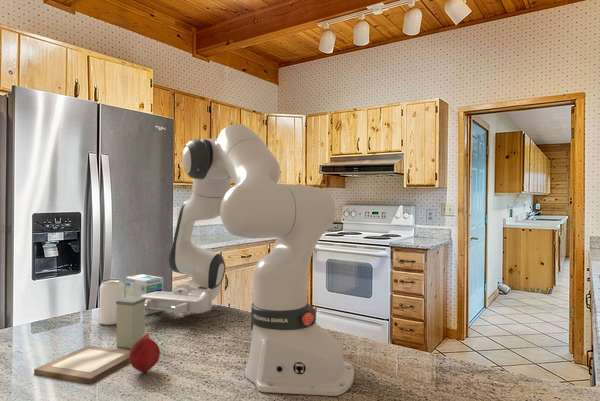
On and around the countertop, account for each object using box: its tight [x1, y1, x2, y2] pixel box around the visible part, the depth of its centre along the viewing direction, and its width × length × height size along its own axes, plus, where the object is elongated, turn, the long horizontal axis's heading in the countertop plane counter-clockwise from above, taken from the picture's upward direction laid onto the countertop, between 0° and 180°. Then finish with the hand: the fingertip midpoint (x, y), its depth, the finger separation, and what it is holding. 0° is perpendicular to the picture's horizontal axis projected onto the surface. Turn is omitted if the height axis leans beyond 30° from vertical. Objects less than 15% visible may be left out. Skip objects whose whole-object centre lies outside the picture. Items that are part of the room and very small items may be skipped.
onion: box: [129, 333, 161, 374], centre depth 83 cm, size 6×6×8 cm
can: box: [99, 278, 125, 326], centre depth 116 cm, size 6×6×12 cm
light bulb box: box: [125, 273, 164, 316], centre depth 129 cm, size 11×7×11 cm, turn 58°
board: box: [33, 344, 131, 384], centre depth 87 cm, size 14×14×1 cm
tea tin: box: [116, 297, 146, 349], centre depth 99 cm, size 5×5×11 cm
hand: (157, 309), depth 109 cm, fingers open, 8 cm apart
